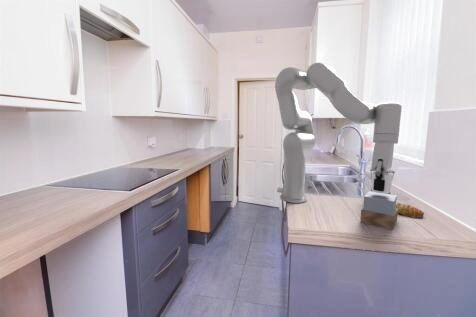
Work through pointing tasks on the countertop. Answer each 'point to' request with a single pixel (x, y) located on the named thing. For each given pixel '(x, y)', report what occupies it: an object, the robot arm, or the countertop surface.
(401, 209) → the pastry
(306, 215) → the countertop surface
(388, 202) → the grey top block
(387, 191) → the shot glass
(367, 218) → the walnut base block
